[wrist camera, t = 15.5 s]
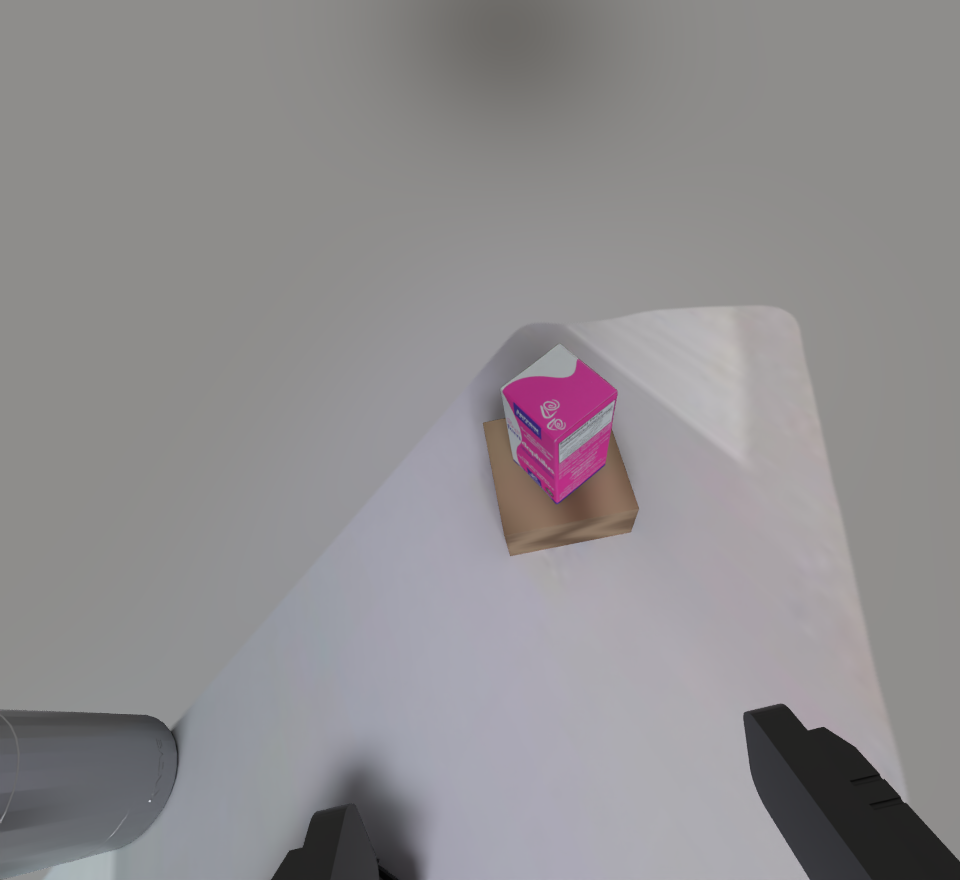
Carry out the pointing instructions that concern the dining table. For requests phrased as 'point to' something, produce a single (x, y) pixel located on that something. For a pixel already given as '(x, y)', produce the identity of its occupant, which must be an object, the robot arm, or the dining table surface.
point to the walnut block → (576, 518)
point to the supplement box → (559, 421)
